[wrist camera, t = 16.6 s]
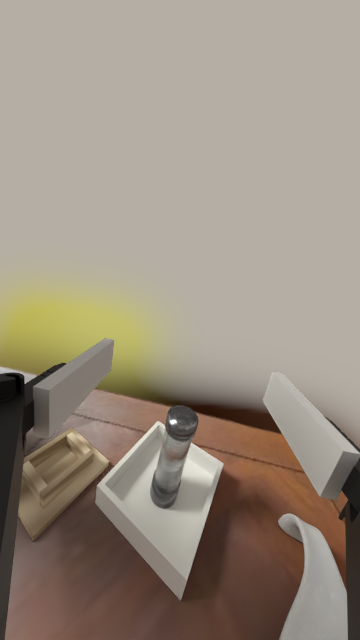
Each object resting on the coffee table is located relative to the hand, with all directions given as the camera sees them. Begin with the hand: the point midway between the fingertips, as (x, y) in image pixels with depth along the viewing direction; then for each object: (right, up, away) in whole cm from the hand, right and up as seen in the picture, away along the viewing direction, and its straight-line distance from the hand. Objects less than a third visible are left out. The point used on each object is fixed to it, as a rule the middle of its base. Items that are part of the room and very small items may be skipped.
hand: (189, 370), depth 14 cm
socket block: (-23, -23, +17) cm, 36 cm away
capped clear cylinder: (-4, -26, +16) cm, 31 cm away
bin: (-4, -27, +17) cm, 32 cm away
